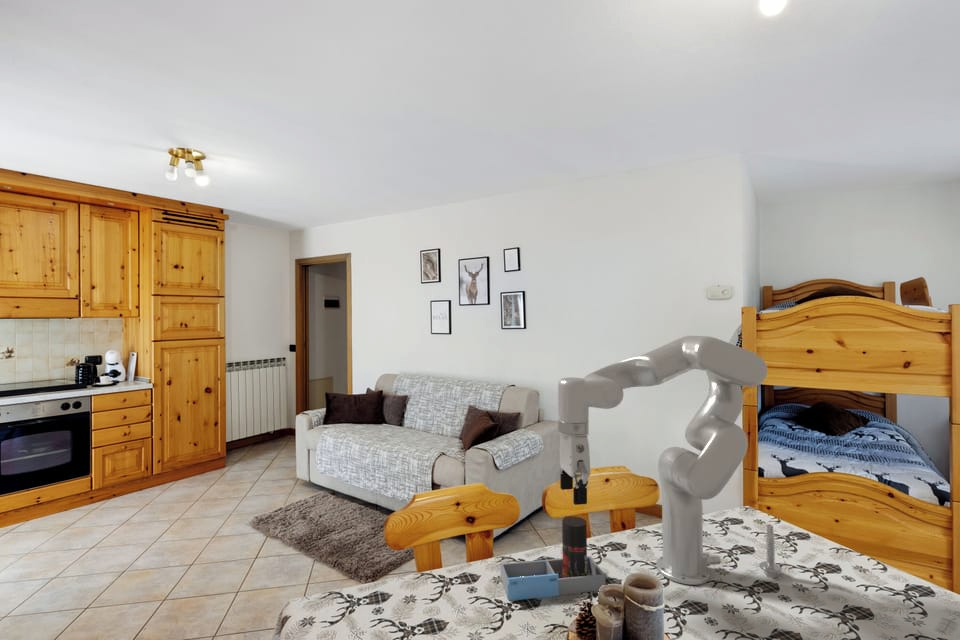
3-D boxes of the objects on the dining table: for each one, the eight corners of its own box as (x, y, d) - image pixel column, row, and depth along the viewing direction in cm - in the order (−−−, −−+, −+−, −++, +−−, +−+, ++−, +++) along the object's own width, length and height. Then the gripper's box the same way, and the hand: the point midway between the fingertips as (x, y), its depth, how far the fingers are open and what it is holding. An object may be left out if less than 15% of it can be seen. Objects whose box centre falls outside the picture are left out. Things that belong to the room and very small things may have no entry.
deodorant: (587, 589, 109) (586, 527, 109) (562, 587, 110) (561, 525, 110) (586, 576, 114) (586, 517, 114) (562, 573, 116) (562, 515, 116)
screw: (760, 568, 117) (782, 574, 115) (758, 576, 114) (781, 583, 111) (759, 518, 118) (781, 523, 115) (758, 525, 114) (781, 530, 111)
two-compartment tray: (590, 569, 117) (590, 550, 117) (606, 591, 108) (606, 570, 108) (500, 577, 114) (500, 557, 114) (508, 600, 104) (508, 579, 105)
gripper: (601, 435, 104) (601, 509, 104) (575, 419, 121) (575, 483, 121) (570, 436, 103) (570, 511, 103) (548, 420, 120) (548, 484, 120)
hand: (573, 496), depth 112 cm, fingers open, 9 cm apart
